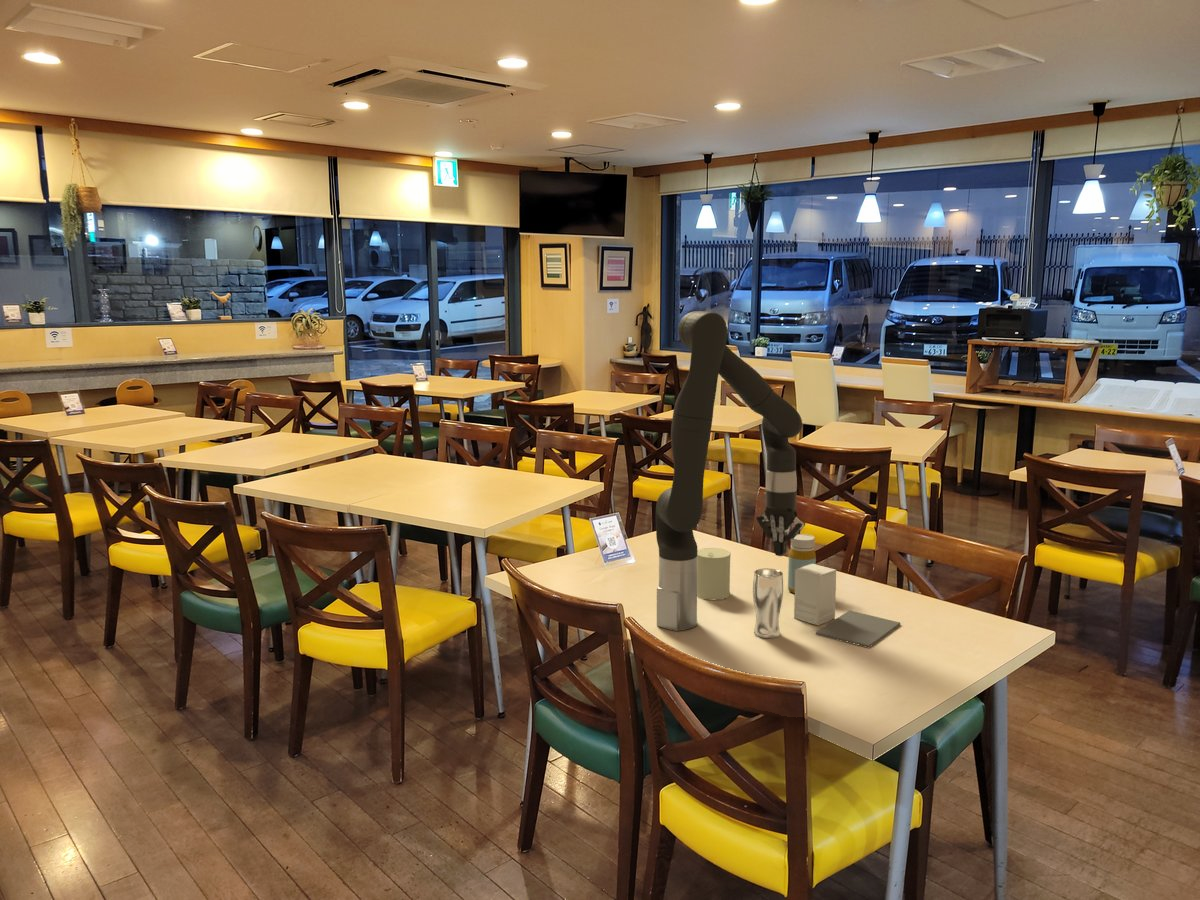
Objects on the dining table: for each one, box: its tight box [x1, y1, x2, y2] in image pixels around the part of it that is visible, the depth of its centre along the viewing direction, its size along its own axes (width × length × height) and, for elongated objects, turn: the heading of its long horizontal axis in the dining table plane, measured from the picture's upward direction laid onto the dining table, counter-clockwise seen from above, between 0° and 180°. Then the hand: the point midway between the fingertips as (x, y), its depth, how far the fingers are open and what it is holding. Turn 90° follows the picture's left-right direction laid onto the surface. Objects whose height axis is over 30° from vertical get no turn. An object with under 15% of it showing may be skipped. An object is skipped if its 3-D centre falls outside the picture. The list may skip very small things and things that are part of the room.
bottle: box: [787, 533, 817, 594], centre depth 234 cm, size 7×7×15 cm
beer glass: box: [752, 567, 784, 639], centre depth 205 cm, size 7×7×15 cm
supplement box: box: [793, 564, 837, 626], centre depth 215 cm, size 7×7×13 cm
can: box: [697, 547, 731, 601], centre depth 232 cm, size 9×9×12 cm
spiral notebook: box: [815, 610, 901, 648], centre depth 208 cm, size 18×13×1 cm
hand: (780, 555), depth 220 cm, fingers closed
